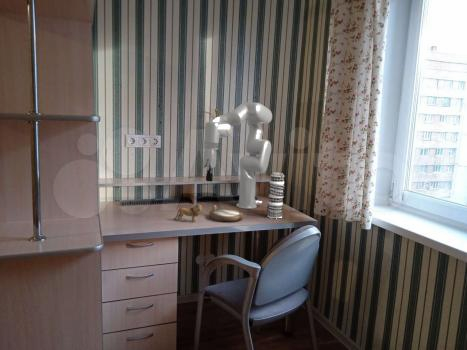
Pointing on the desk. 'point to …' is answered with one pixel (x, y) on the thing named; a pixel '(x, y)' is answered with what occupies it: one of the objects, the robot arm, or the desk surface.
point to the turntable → (225, 214)
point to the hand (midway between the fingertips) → (209, 181)
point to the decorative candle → (275, 195)
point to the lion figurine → (189, 212)
